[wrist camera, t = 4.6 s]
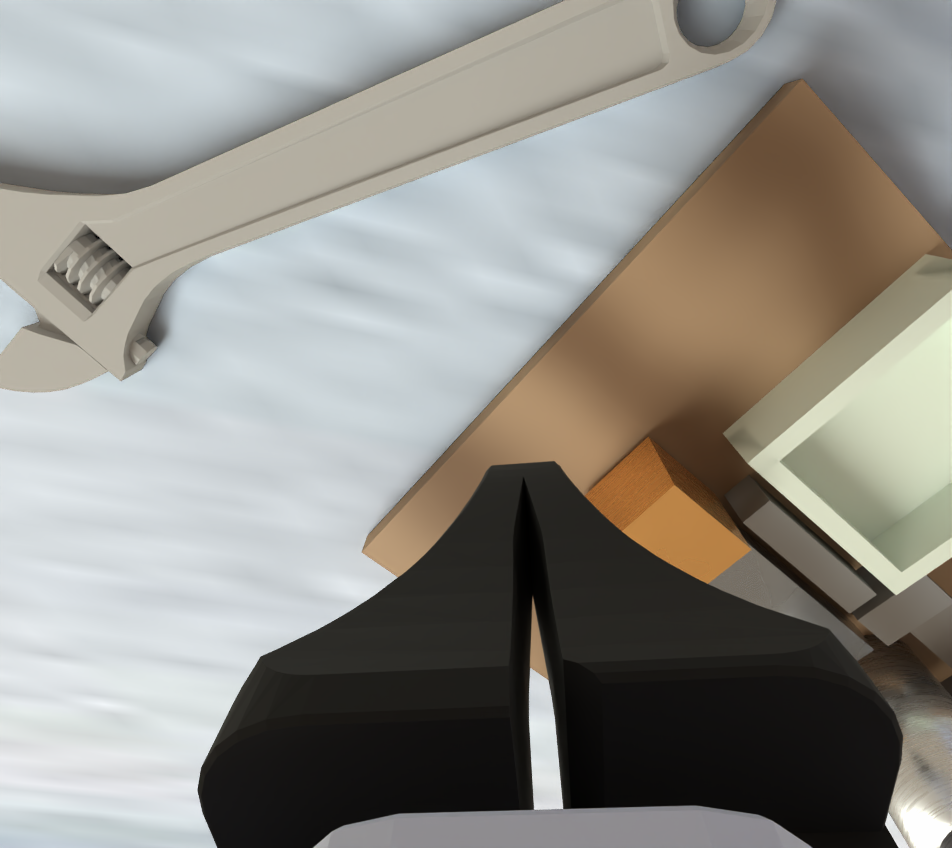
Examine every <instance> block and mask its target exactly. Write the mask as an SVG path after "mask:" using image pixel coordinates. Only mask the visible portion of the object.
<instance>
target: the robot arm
mask: <svg viewBox="0 0 952 848" xmlns="http://www.w3.org/2000/svg"><path fill="white" fill-rule="evenodd" d="M533 600H534V605H535V611H536V616H537V621H538V627H539V632H540V637H541V642H542V648H543V653H544V658H545V663H546V669H547V674H548V679H549V684H550V690H551V695H552V702H553V709H554V715H555V724H556V734H557V745H558V756H559V767H560V778H561V788H562V799H563V809H552V810H534V803H533V786H532V768H531V750H530V733H529V678H530V653H531V628H532V601H533ZM902 747H903V734H902V731H901V728H900V726H899V723H898V720H897V717H896V715H895V712H894V711H893V709H892V708H891V707H890V705H889V704H888V702H887V701H886V700H885V698H884V697H883V695H882V694H881V693H880V691H879V690H878V689H877V687H876V686H875V684H874V683H873V681H872V680H871V679H870V677H869V676H868V675H867V673H866V672H865V671H864V670H863V668H862V667H861V666H860V664H859V663H858V662H857V660H856V659H855V658H854V657H853V656H852V655H851V654H850V652H849V651H848V650H847V649H846V648H845V647H844V646H843V645H842V643H841V642H840V641H839V640H838V639H837V638H836V636H835V635H834V634H833V633H832V632H831V630H830V629H828V628H825V627H822V626H819V625H816V624H813V623H810V622H807V621H804V620H801V619H798V618H795V617H792V616H789V615H786V614H783V613H779V612H776V611H773V610H770V609H767V608H764V607H761V606H759V605H756V604H754V603H751V602H749V601H746V600H744V599H742V598H739V597H737V596H734V595H732V594H729V593H727V592H725V591H722V590H720V589H718V588H716V587H714V586H711V585H709V584H707V583H705V582H703V581H701V580H699V579H697V578H695V577H693V576H691V575H689V574H688V573H686V572H684V571H682V570H680V569H678V568H676V567H675V566H673V565H671V564H669V563H668V562H666V561H664V560H663V559H661V558H659V557H658V556H656V555H654V554H653V553H651V552H650V551H649V550H647V549H646V548H644V547H643V546H641V545H640V544H638V543H637V542H635V541H634V540H632V539H631V538H630V537H628V536H627V535H626V534H624V533H623V532H622V531H621V530H620V529H619V528H617V527H616V526H615V525H614V524H613V523H612V522H610V521H609V520H608V519H607V518H606V517H605V516H604V515H603V514H602V513H601V512H600V511H599V510H598V509H597V508H596V507H595V506H594V505H593V504H592V503H591V502H590V501H589V500H588V499H587V498H586V497H585V496H584V495H583V494H582V493H581V492H580V491H579V489H578V488H577V487H576V486H575V485H574V484H573V482H572V481H571V480H570V479H569V477H568V476H567V475H566V474H565V472H564V471H563V470H562V468H561V466H560V465H558V464H557V463H556V462H555V461H547V462H533V463H519V464H505V465H491V466H490V467H489V469H488V470H487V471H486V472H485V474H484V476H483V478H482V480H481V482H480V484H479V485H478V487H477V488H476V490H475V492H474V493H473V495H472V496H471V498H470V499H469V501H468V502H467V504H466V505H465V506H464V508H463V509H462V511H461V512H460V514H459V515H458V516H457V518H456V519H455V520H454V522H453V523H452V524H451V525H450V526H449V528H448V529H447V530H446V531H445V532H444V533H443V535H442V536H441V537H440V538H439V539H438V541H437V542H436V543H435V544H434V545H433V546H432V547H431V548H430V549H429V550H428V551H427V553H426V554H425V555H424V556H423V557H421V558H420V559H419V560H418V561H417V562H416V563H415V564H414V565H413V566H412V567H411V568H409V569H408V570H407V571H406V572H404V573H403V574H402V575H401V576H399V577H398V578H397V579H395V580H394V581H393V582H391V583H390V584H389V585H387V586H386V587H385V588H383V589H382V590H381V591H380V592H378V593H377V594H376V595H374V596H373V597H371V598H370V599H368V600H367V601H365V602H364V603H362V604H361V605H359V606H357V607H356V608H354V609H353V610H351V611H350V612H348V613H346V614H344V615H343V616H341V617H339V618H338V619H336V620H334V621H332V622H331V623H329V624H327V625H325V626H323V627H322V628H320V629H318V630H316V631H314V632H312V633H310V634H308V635H306V636H304V637H301V638H299V639H297V640H295V641H293V642H291V643H289V644H287V645H285V646H283V647H281V648H279V649H277V650H275V651H272V652H270V653H268V654H265V655H263V656H261V657H260V659H259V660H258V662H257V664H256V665H255V667H254V669H253V670H252V672H251V674H250V675H249V677H248V678H247V680H246V681H245V683H244V685H243V686H242V688H241V690H240V692H239V694H238V695H237V697H236V699H235V701H234V703H233V705H232V707H231V709H230V711H229V713H228V715H227V717H226V719H225V721H224V723H223V725H222V727H221V729H220V731H219V733H218V735H217V737H216V739H215V741H214V743H213V745H212V747H211V749H210V751H209V753H208V755H207V757H206V759H205V761H204V763H203V765H202V767H201V772H200V778H199V784H198V795H199V799H200V803H201V808H202V812H203V815H204V817H205V820H206V822H207V824H208V827H209V829H210V831H211V834H212V836H213V838H214V841H215V843H216V846H217V848H898V846H897V845H896V843H895V841H894V839H893V838H892V836H891V834H890V833H889V831H888V829H887V827H886V826H885V822H886V818H887V814H888V811H889V807H890V803H891V799H892V795H893V791H894V788H895V784H896V780H897V776H898V772H899V769H900V765H901V761H902Z"/></svg>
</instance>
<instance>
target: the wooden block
mask: <svg viewBox="0 0 952 848" xmlns="http://www.w3.org/2000/svg"><path fill="white" fill-rule="evenodd" d="M585 497H586V498H587V499H588V500H589V501H590V502H591V503H592V504H593V505H594V506H595V507H596V508H597V509H598V510H599V511H600V512H601V513H602V514H603V515H604V516H605V517H606V518H607V519H608V520H609V521H610V522H612V523H613V524H614V525H615V526H616V527H617V528H619V529H620V530H621V531H622V532H623V533H624V534H626V535H627V536H628V537H630V538H631V539H632V540H634V541H635V542H637V543H638V544H640V545H641V546H643V547H644V548H646V549H647V550H649V551H650V552H651V553H653V554H654V555H656V556H658V557H659V558H661V559H663V560H664V561H666V562H668V563H669V564H671V565H673V566H675V567H676V568H678V569H680V570H682V571H684V572H686V573H688V574H689V575H691V576H693V577H695V578H697V579H699V580H701V581H703V582H705V583H707V584H709V585H711V586H714V587H716V588H718V589H720V590H722V591H725V592H727V593H729V594H732V595H734V596H737V597H739V598H742V599H744V600H746V601H749V602H751V603H754V604H756V605H759V606H761V607H764V608H767V609H770V610H773V611H776V612H779V613H783V614H786V615H789V616H792V617H795V618H798V619H801V620H804V621H807V622H810V623H813V624H816V625H819V626H822V627H825V628H828V629H830V630H831V632H832V633H833V634H834V635H835V636H836V638H837V639H838V640H839V641H840V642H841V643H842V645H843V646H844V647H845V648H846V649H847V650H848V651H849V652H850V654H851V655H852V656H853V657H854V658H855V659H856V660H857V661H858V660H860V659H861V658H863V657H864V656H866V655H867V654H869V653H870V652H872V651H873V650H874V649H873V648H872V646H871V645H870V644H869V642H868V641H867V640H866V638H865V637H864V636H863V635H862V633H861V632H860V631H859V629H858V628H857V627H856V626H855V624H854V623H853V622H851V621H850V620H849V619H848V618H847V617H846V616H844V615H843V614H842V613H841V612H840V611H838V610H837V609H836V608H835V607H834V606H833V605H831V604H830V603H829V602H828V601H827V600H825V599H824V598H823V597H822V596H821V595H820V594H818V593H817V592H816V591H815V590H814V589H812V588H811V587H810V586H809V585H808V584H807V583H805V582H804V581H803V580H802V579H801V578H799V577H798V576H797V575H796V574H795V573H794V572H792V571H791V570H790V569H789V568H788V567H786V566H785V565H784V564H783V563H782V562H781V561H779V560H778V559H777V558H776V557H775V556H773V555H772V554H771V553H770V552H769V551H768V550H766V549H765V548H764V547H763V546H762V545H760V544H759V543H758V542H757V541H756V540H755V539H753V538H752V537H751V536H750V535H749V534H748V533H746V532H745V531H744V530H743V529H742V528H740V527H739V526H738V525H737V524H736V523H735V522H733V520H732V519H731V517H730V516H729V514H728V513H727V511H726V510H725V508H724V507H723V505H722V504H721V502H720V501H719V499H718V498H717V496H716V494H715V493H714V492H713V491H711V490H710V489H709V488H708V487H707V486H706V485H704V484H703V483H702V482H701V481H700V480H699V479H697V478H696V477H695V476H694V475H693V474H692V473H690V472H689V471H688V470H687V469H686V468H684V467H683V466H682V465H681V464H680V463H679V462H677V461H676V460H675V459H674V458H673V457H672V456H670V455H669V454H668V453H667V452H666V451H665V450H663V449H662V448H661V447H660V446H659V445H658V444H656V443H655V442H654V441H653V440H652V439H651V438H649V437H647V438H646V439H645V440H644V441H643V442H642V443H641V444H640V445H639V446H637V447H636V448H635V449H634V450H633V451H632V452H631V453H630V454H629V455H628V456H627V457H626V458H625V459H623V460H622V461H621V462H620V463H619V464H618V465H617V466H616V467H615V468H614V469H613V470H612V471H611V472H610V473H608V474H607V475H606V476H605V477H604V478H603V479H602V480H601V481H600V482H599V483H598V484H597V485H596V486H594V487H593V488H592V489H591V490H590V491H589V492H588V493H587V494H586V495H585Z"/></svg>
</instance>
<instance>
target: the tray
mask: <svg viewBox="0 0 952 848" xmlns="http://www.w3.org/2000/svg"><path fill="white" fill-rule="evenodd" d="M723 435H724V436H725V437H726V438H727V439H728V441H729V442H730V443H731V444H732V445H733V447H734V448H735V449H736V450H737V451H738V453H739V454H740V455H741V456H742V457H743V459H744V460H745V461H746V462H747V463H748V464H749V465H750V466H751V467H752V468H753V469H754V470H755V471H757V472H758V473H759V474H760V475H761V476H762V477H763V478H765V479H766V480H767V481H768V482H769V483H770V484H771V485H772V486H774V487H775V488H776V489H777V490H778V491H779V492H780V493H781V494H783V495H784V496H785V497H786V498H787V499H788V500H789V501H790V502H792V503H793V504H794V505H795V506H796V507H797V508H798V509H799V510H801V511H802V512H803V513H804V514H805V515H806V516H807V517H808V518H810V519H811V520H812V521H813V522H814V523H815V524H816V525H817V526H819V527H820V528H821V529H822V530H823V531H824V532H825V533H826V534H828V535H829V536H830V537H831V538H832V539H833V540H834V541H835V542H837V543H838V544H839V545H840V546H841V547H842V548H843V549H844V550H846V551H847V552H848V553H849V554H850V555H851V556H852V557H854V558H855V559H856V560H857V561H858V562H859V563H860V564H861V565H863V566H864V567H865V568H866V569H867V570H868V571H869V572H870V573H872V574H873V575H874V576H875V577H876V578H877V579H878V580H879V581H881V582H882V583H883V584H884V585H885V586H886V587H887V588H888V589H890V590H891V591H892V592H893V593H894V594H895V595H898V594H899V593H900V592H902V591H903V590H905V589H906V588H908V587H909V586H911V585H912V584H914V583H915V582H916V581H918V580H919V579H921V578H922V577H924V576H925V575H927V574H928V573H930V572H931V571H933V570H934V569H935V568H937V567H938V566H940V565H941V564H943V563H944V562H946V561H947V560H949V559H950V558H951V557H952V259H948V258H943V257H938V256H933V255H928V254H925V255H924V256H923V257H922V258H920V259H919V260H918V261H917V262H916V263H915V264H914V265H913V266H911V267H910V268H909V269H908V270H907V271H906V272H905V273H903V274H902V275H901V276H900V277H899V278H898V279H897V280H896V281H894V282H893V283H892V284H891V285H890V286H889V287H888V288H887V289H885V290H884V291H883V292H882V293H881V294H880V295H879V296H877V297H876V298H875V299H874V300H873V301H872V302H871V303H870V304H868V305H867V306H866V307H865V308H864V309H863V310H862V311H861V312H859V313H858V314H857V315H856V316H855V317H854V318H853V319H851V320H850V321H849V322H848V323H847V324H846V325H845V326H844V327H842V328H841V329H840V330H839V331H838V332H837V333H836V334H834V335H833V336H832V337H831V338H830V339H829V340H828V341H827V342H825V343H824V344H823V345H822V346H821V347H820V348H819V349H818V350H816V351H815V352H814V353H813V354H812V355H811V356H810V357H808V358H807V359H806V360H805V361H804V362H803V363H802V364H801V365H799V366H798V367H797V368H796V369H795V370H794V371H793V372H792V373H790V374H789V375H788V376H787V377H786V378H785V379H784V380H782V381H781V382H780V383H779V384H778V385H777V386H776V387H775V388H773V389H772V390H771V391H770V392H769V393H768V394H767V395H765V396H764V397H763V398H762V399H761V400H760V401H759V402H758V403H756V404H755V405H754V406H753V407H752V408H751V409H750V410H749V411H747V412H746V413H745V414H744V415H743V416H742V417H741V418H739V419H738V420H737V421H736V422H735V423H734V424H733V425H732V426H730V427H729V428H728V429H727V430H726V431H725V432H724V433H723Z"/></svg>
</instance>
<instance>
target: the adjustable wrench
mask: <svg viewBox="0 0 952 848" xmlns="http://www.w3.org/2000/svg"><path fill="white" fill-rule="evenodd" d="M678 1H679V0H565V1H562V2H560V3H558V4H556V5H553V6H551V7H549V8H547V9H545V10H542V11H540V12H538V13H536V14H533V15H531V16H529V17H527V18H524V19H522V20H520V21H518V22H516V23H513V24H511V25H509V26H507V27H504V28H502V29H500V30H498V31H495V32H493V33H491V34H489V35H487V36H484V37H482V38H480V39H478V40H475V41H473V42H471V43H469V44H466V45H464V46H462V47H460V48H458V49H455V50H453V51H451V52H449V53H446V54H444V55H442V56H440V57H437V58H435V59H433V60H431V61H429V62H426V63H424V64H422V65H420V66H417V67H415V68H413V69H411V70H408V71H406V72H404V73H402V74H400V75H397V76H395V77H393V78H391V79H388V80H386V81H384V82H382V83H379V84H377V85H375V86H373V87H371V88H368V89H366V90H364V91H362V92H359V93H357V94H355V95H353V96H350V97H348V98H346V99H344V100H342V101H339V102H337V103H335V104H333V105H330V106H328V107H326V108H324V109H321V110H319V111H317V112H315V113H313V114H310V115H308V116H306V117H304V118H301V119H299V120H297V121H295V122H292V123H290V124H288V125H286V126H284V127H281V128H279V129H277V130H275V131H272V132H270V133H268V134H266V135H263V136H261V137H259V138H257V139H255V140H252V141H250V142H248V143H246V144H243V145H241V146H239V147H237V148H234V149H232V150H230V151H228V152H226V153H223V154H221V155H219V156H217V157H214V158H212V159H210V160H208V161H205V162H203V163H201V164H199V165H197V166H194V167H192V168H190V169H188V170H185V171H183V172H181V173H179V174H176V175H174V176H172V177H170V178H168V179H165V180H163V181H161V182H159V183H156V184H154V185H152V186H149V187H145V188H142V189H139V190H136V191H132V192H129V193H125V194H84V193H69V192H58V191H50V190H43V189H37V188H31V187H24V186H18V185H11V184H5V183H0V279H1V280H2V281H4V282H5V283H6V284H7V285H8V286H9V287H10V288H11V289H13V290H14V291H15V292H16V293H17V294H18V295H20V296H21V297H22V298H23V299H24V300H26V301H27V302H28V303H29V304H30V305H31V306H33V307H34V308H35V311H36V313H37V316H38V319H39V321H40V322H37V323H34V324H31V325H28V326H25V327H22V328H21V329H20V330H19V332H18V333H17V334H16V335H15V337H14V338H13V339H12V341H11V342H10V343H9V344H8V346H7V347H6V348H5V349H4V351H3V352H2V353H1V354H0V388H2V389H7V390H12V391H21V392H52V391H58V390H65V389H68V388H71V387H74V386H77V385H80V384H82V383H85V382H87V381H90V380H92V379H94V378H96V377H98V376H100V375H102V374H104V373H106V372H108V371H109V372H110V373H112V374H113V375H114V376H115V377H116V378H118V379H119V380H120V381H122V380H124V379H126V378H128V377H129V376H131V375H133V374H135V373H136V372H138V371H140V370H142V369H143V367H144V365H145V363H146V361H147V358H148V357H149V356H150V355H151V354H153V353H154V352H155V350H156V349H157V348H158V347H157V346H156V345H155V344H153V343H152V342H151V341H150V340H149V339H148V338H147V337H146V335H147V331H148V327H149V324H150V322H151V320H152V318H153V316H154V314H155V312H156V309H157V307H158V305H159V303H160V301H161V299H162V297H163V295H164V293H165V292H166V291H167V289H168V288H169V287H170V285H171V284H172V283H173V282H174V281H175V279H176V278H178V277H179V276H180V275H181V274H183V273H184V272H185V271H187V270H188V269H189V268H190V267H192V266H194V265H195V264H197V263H199V262H201V261H203V260H205V259H207V258H209V257H211V256H213V255H216V254H218V253H221V252H224V251H226V250H229V249H232V248H235V247H237V246H240V245H243V244H245V243H248V242H251V241H253V240H256V239H259V238H261V237H264V236H267V235H269V234H272V233H275V232H277V231H280V230H283V229H285V228H288V227H291V226H293V225H296V224H299V223H301V222H304V221H307V220H309V219H312V218H315V217H317V216H320V215H323V214H325V213H328V212H331V211H333V210H336V209H339V208H341V207H344V206H347V205H350V204H352V203H355V202H358V201H360V200H363V199H366V198H368V197H371V196H374V195H376V194H379V193H382V192H384V191H387V190H390V189H392V188H395V187H398V186H400V185H403V184H406V183H408V182H411V181H414V180H416V179H419V178H422V177H424V176H427V175H430V174H432V173H435V172H438V171H440V170H443V169H446V168H448V167H451V166H454V165H456V164H459V163H462V162H465V161H467V160H470V159H473V158H475V157H478V156H481V155H483V154H486V153H489V152H491V151H494V150H497V149H499V148H502V147H505V146H507V145H510V144H513V143H515V142H518V141H521V140H523V139H526V138H529V137H531V136H534V135H537V134H539V133H542V132H545V131H547V130H550V129H553V128H555V127H558V126H561V125H563V124H566V123H569V122H571V121H574V120H577V119H580V118H582V117H585V116H588V115H590V114H593V113H596V112H598V111H601V110H604V109H606V108H609V107H612V106H614V105H617V104H620V103H622V102H625V101H628V100H630V99H633V98H636V97H638V96H641V95H644V94H646V93H649V92H652V91H654V90H657V89H660V88H662V87H665V86H668V85H670V84H673V83H676V82H678V81H681V80H684V79H686V78H689V77H692V76H694V75H697V74H700V73H703V72H705V71H708V70H711V69H713V68H716V67H718V66H720V65H722V64H725V63H727V62H729V61H731V60H733V59H734V58H736V57H738V56H740V55H741V54H743V53H745V52H746V51H748V50H749V49H750V48H751V47H752V46H753V45H754V44H755V42H756V41H757V40H758V39H759V38H760V37H761V36H762V34H763V33H764V31H765V29H766V27H767V26H768V24H769V22H770V20H771V18H772V15H773V12H774V8H775V4H776V0H745V9H744V13H743V17H742V20H741V21H740V23H739V25H738V27H737V29H736V30H735V31H734V32H733V33H732V34H731V36H730V37H729V38H728V39H726V40H724V41H723V42H721V43H719V44H718V45H714V46H709V47H704V46H697V45H695V44H693V43H691V42H690V41H688V40H687V39H686V37H685V36H684V35H683V34H682V33H681V30H680V27H679V25H678V22H677V5H678ZM97 235H98V236H99V237H100V238H101V239H98V238H96V236H97ZM109 246H110V247H111V248H112V250H109V249H108V247H109ZM120 256H121V257H122V258H123V259H124V260H123V261H121V260H120V259H119V257H120ZM131 266H132V268H131V269H129V268H130V267H131Z"/></svg>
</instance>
